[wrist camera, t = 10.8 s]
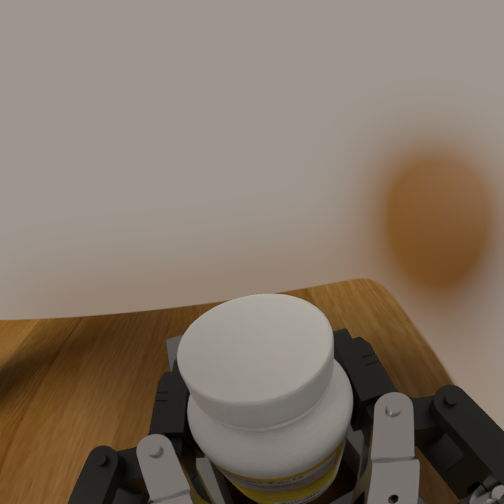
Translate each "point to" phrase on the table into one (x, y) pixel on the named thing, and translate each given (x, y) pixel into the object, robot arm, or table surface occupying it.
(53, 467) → the table surface
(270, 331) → the supplement bottle
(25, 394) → the table surface
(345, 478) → the table surface
